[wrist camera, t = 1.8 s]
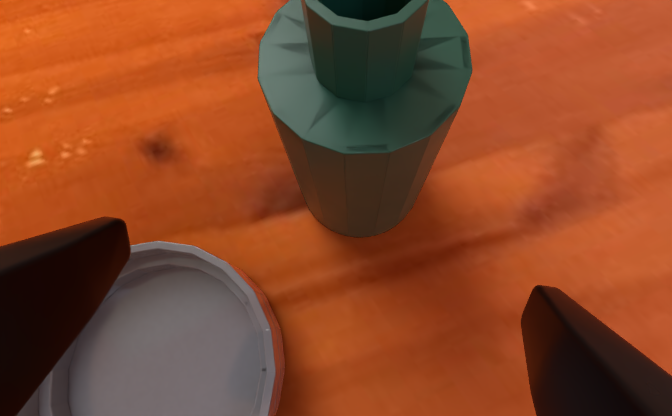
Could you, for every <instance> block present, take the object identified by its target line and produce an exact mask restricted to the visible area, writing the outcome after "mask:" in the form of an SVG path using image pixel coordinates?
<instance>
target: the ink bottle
mask: <svg viewBox="0 0 672 416" xmlns="http://www.w3.org/2000/svg"><path fill="white" fill-rule="evenodd" d="M471 74H472V63H471V55H470V47H469V39H468V35H467V33H466V31H465V30H464V28H463V26H462V25H461V23H460V22H459V20H458V19H457V17H456V16H455V14H454V13H453V11H452V9H451V8H450V6H449V5H448V4H447V3H446V2H444V1H443V0H290V1H289V2H287V3H286V4H285V5H284V6H283V7H281V8H280V9H279V10H278V11H277V12H276V14H275V15H274V17H273V19H272V21H271V23H270V25H269V27H268V29H267V30H266V32H265V34H264V36H263V38H262V40H261V42H260V45H259V63H258V81H259V84H260V86H261V89H262V91H263V94H264V96H265V99H266V102H267V104H268V107H269V109H270V112H271V114H272V117H273V120H274V122H275V125H276V127H277V130H278V132H279V135H280V138H281V140H282V143H283V145H284V148H285V150H286V153H287V156H288V158H289V161H290V163H291V166H292V168H293V171H294V174H295V176H296V179H297V181H298V184H299V186H300V189H301V192H302V194H303V196H304V199H305V201H306V204H307V206H308V208H309V210H310V211H311V212H312V214H313V215H314V216H315V218H316V219H317V220H318V221H319V222H320V223H322V224H323V225H324V226H325V227H327V228H329V229H330V230H332V231H334V232H336V233H339V234H342V235H345V236H351V237H369V236H374V235H378V234H381V233H384V232H386V231H388V230H390V229H391V228H393V227H394V226H396V225H397V224H398V223H399V222H400V221H402V220H403V219H404V217H405V216H406V215H407V214H408V212H409V211H410V210H411V209H412V207H413V205H414V203H415V201H416V199H417V197H418V194H419V192H420V190H421V188H422V186H423V184H424V182H425V180H426V177H427V175H428V173H429V171H430V169H431V167H432V165H433V163H434V160H435V158H436V156H437V154H438V152H439V150H440V148H441V146H442V143H443V141H444V139H445V137H446V135H447V133H448V131H449V129H450V126H451V124H452V122H453V120H454V118H455V116H456V114H457V112H458V109H459V107H460V105H461V102H462V99H463V97H464V94H465V91H466V88H467V85H468V83H469V80H470V77H471Z"/></svg>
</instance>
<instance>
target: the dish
mask: <svg viewBox="0 0 672 416" xmlns="http://www.w3.org/2000/svg"><path fill="white" fill-rule="evenodd" d="M130 247H131V254H130V258H129V260H128V262H127V263H126V265H125V267H124V268H123V270H122V272H121V273H120V275H119V276H118V278H117V280H116V281H115V283H114V284H113V286H112V288H111V289H110V291H109V292H108V294H107V296H106V297H105V299H104V301H103V302H102V304H101V305H100V307H99V308H98V310H97V311H96V313H95V314H94V316H93V317H92V319H91V320H90V321H89V323H88V324H87V325H86V327H85V328H84V329H83V330H82V332H81V333H80V334H79V336H78V337H77V338H76V340H75V341H74V342H73V343H72V345H71V346H70V347H69V349H68V350H67V351H66V353H65V354H64V355H63V356H62V358H61V359H60V360H59V362H58V363H57V364H56V365H55V367H54V368H53V369H52V371H51V372H50V373H49V375H48V376H47V377H46V378H45V380H44V381H43V382H42V384H41V385H40V386H39V388H38V389H37V390H36V391H35V393H34V394H33V395H32V397H31V398H30V399H29V401H28V402H27V403H26V404H25V406H24V407H23V408H22V410H21V411H20V412H19V413H18V415H17V416H275V414H276V412H277V408H278V406H279V401H280V395H281V389H282V383H283V377H284V372H285V368H284V367H285V361H284V353H283V344H282V336H281V329H279V328H280V326H279V324H278V322H277V320H276V317H275V315H274V313H273V311H272V309H271V307H270V304H269V302H268V300H267V298H266V296H265V294H264V293H263V292H262V291H261V290H260V289H259V288H258V287H257V286H256V285H255V284H254V282H253V281H252V280H251V279H250V278H249V277H248V276H247V275H246V274H245V273H244V272H243V271H242V270H240V269H239V268H237V267H235V266H233V265H231V264H229V263H227V262H225V261H223V260H222V259H220V258H218V257H216V256H214V255H212V254H210V253H208V252H206V251H204V250H202V249H200V248H198V247H196V246H192V245H185V244H178V243H171V242H164V241H153V242H148V243H142V244H136V245H130Z"/></svg>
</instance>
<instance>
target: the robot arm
mask: <svg viewBox="0 0 672 416" xmlns="http://www.w3.org/2000/svg"><path fill="white" fill-rule="evenodd" d="M130 254H131V247H130V242H129V237H128V232H127V227H126V223H125V222H124V221H123V220H122V219H118V218H112V217H101V218H97V219H94V220H90V221H87V222H83V223H80V224H76V225H73V226H70V227H66V228H63V229H59V230H56V231H52V232H49V233H46V234H42V235H39V236H35V237H32V238H28V239H25V240H21V241H18V242H15V243H11V244H8V245H4V246H1V247H0V416H17V415H18V413H19V412H20V411H21V410H22V408H23V407H24V406H25V404H26V403H27V402H28V401H29V399H30V398H31V397H32V395H33V394H34V393H35V391H36V390H37V389H38V388H39V386H40V385H41V384H42V382H43V381H44V380H45V378H46V377H47V376H48V375H49V373H50V372H51V371H52V369H53V368H54V367H55V365H56V364H57V363H58V362H59V360H60V359H61V358H62V356H63V355H64V354H65V353H66V351H67V350H68V349H69V347H70V346H71V345H72V343H73V342H74V341H75V340H76V338H77V337H78V336H79V334H80V333H81V332H82V330H83V329H84V328H85V327H86V325H87V324H88V323H89V321H90V320H91V319H92V317H93V316H94V314H95V313H96V311H97V310H98V308H99V307H100V305H101V304H102V302H103V301H104V299H105V297H106V296H107V294H108V292H109V291H110V289H111V288H112V286H113V284H114V283H115V281H116V280H117V278H118V276H119V275H120V273H121V272H122V270H123V268H124V267H125V265H126V263H127V262H128V260H129V258H130ZM521 328H522V335H523V342H524V349H525V356H526V363H527V370H528V377H529V383H530V389H531V395H532V399H533V403H534V407H535V411H536V415H537V416H672V376H671V375H670V374H668V373H667V372H666V371H664V370H663V369H662V368H661V367H659V366H658V365H657V364H655V363H654V362H653V361H652V360H650V359H649V358H648V357H646V356H645V355H644V354H642V353H641V352H640V351H639V350H637V349H636V348H635V347H633V346H632V345H631V344H630V343H628V342H627V341H626V340H624V339H623V338H622V337H620V336H619V335H618V334H617V333H615V332H614V331H613V330H611V329H610V328H609V327H608V326H606V325H605V324H604V323H602V322H601V321H600V320H598V319H597V318H596V317H595V316H593V315H592V314H591V313H589V312H588V311H587V310H585V309H584V308H583V307H582V306H580V305H579V304H578V303H576V302H575V301H574V300H573V299H571V298H570V297H569V296H567V295H566V294H565V293H563V292H562V291H561V290H560V289H558V288H555V287H549V286H542V285H537V286H535V287H534V288H533V290H532V292H531V294H530V297H529V299H528V302H527V304H526V306H525V309H524V311H523V314H522V318H521Z"/></svg>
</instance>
